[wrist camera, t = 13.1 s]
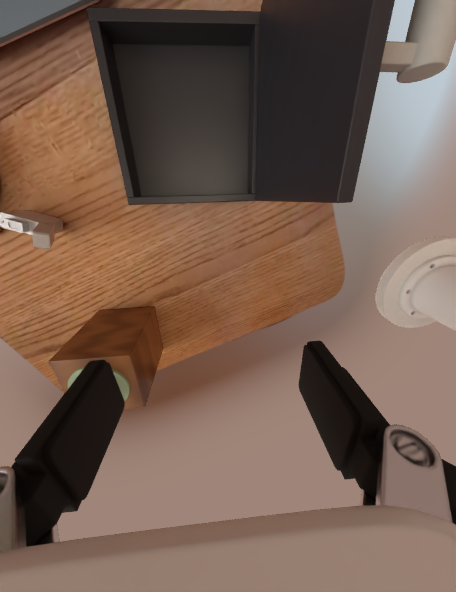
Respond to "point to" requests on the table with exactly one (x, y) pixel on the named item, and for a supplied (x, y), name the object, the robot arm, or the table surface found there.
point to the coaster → (120, 380)
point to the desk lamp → (34, 15)
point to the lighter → (33, 226)
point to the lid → (333, 87)
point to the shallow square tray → (181, 101)
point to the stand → (116, 349)
